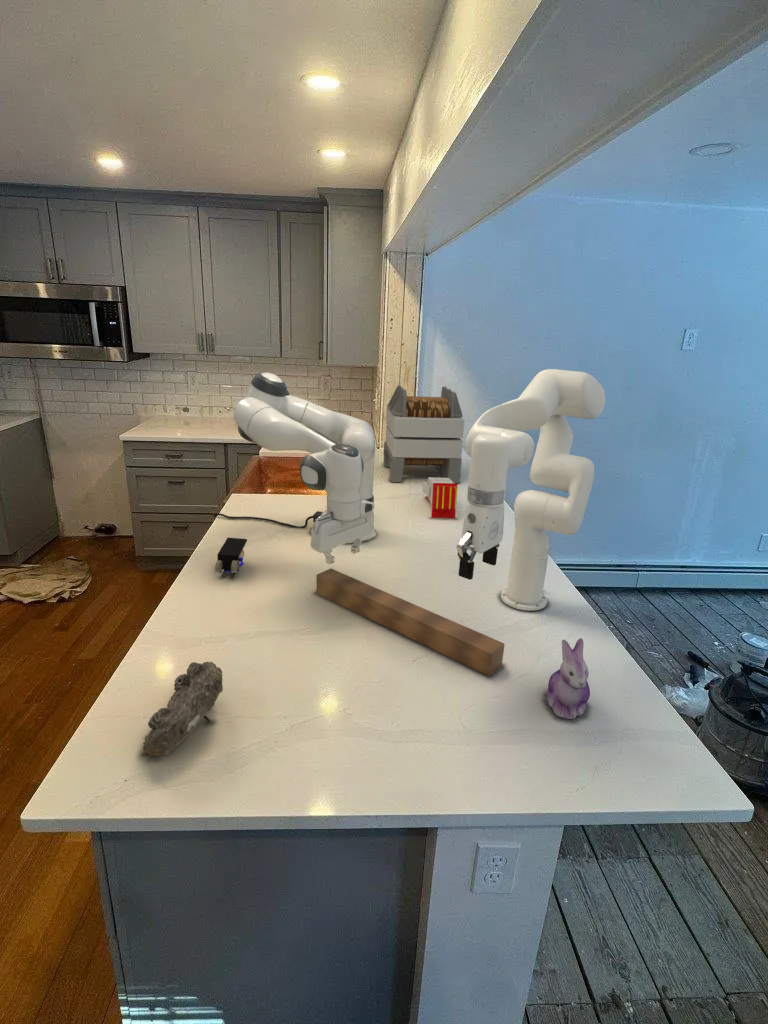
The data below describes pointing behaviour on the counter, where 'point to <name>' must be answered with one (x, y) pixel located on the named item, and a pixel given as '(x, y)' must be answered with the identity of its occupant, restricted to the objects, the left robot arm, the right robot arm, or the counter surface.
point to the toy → (441, 497)
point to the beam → (413, 621)
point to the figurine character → (230, 556)
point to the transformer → (424, 433)
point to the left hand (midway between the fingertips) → (342, 557)
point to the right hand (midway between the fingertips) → (477, 570)
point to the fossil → (184, 708)
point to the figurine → (569, 683)
